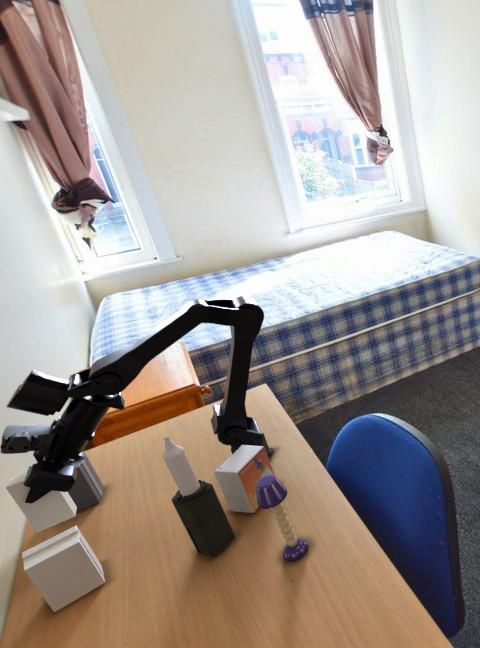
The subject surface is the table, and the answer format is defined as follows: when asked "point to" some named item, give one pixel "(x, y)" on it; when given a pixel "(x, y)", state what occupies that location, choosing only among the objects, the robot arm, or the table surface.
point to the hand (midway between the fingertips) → (30, 497)
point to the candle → (197, 504)
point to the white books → (63, 568)
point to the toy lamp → (280, 515)
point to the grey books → (85, 484)
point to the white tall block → (41, 505)
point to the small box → (243, 477)
